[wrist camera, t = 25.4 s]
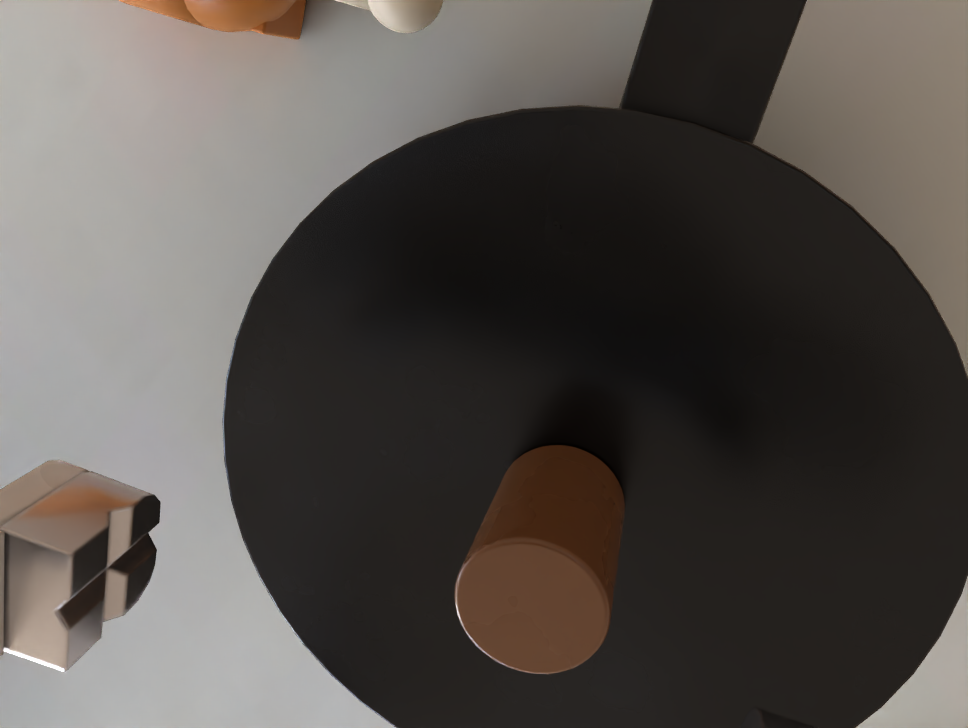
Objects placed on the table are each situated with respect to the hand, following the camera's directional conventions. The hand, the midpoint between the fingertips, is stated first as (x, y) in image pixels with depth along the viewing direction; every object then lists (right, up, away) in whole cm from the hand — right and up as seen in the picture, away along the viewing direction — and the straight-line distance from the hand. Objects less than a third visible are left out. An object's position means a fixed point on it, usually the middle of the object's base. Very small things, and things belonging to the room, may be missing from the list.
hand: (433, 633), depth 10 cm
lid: (+2, +1, +5) cm, 6 cm away
